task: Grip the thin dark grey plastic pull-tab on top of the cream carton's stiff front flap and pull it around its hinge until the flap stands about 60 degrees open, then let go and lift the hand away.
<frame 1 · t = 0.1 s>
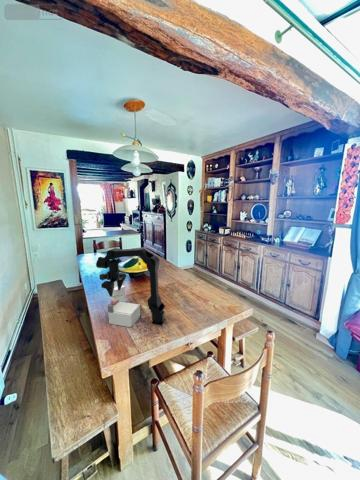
hand: (115, 293, 125), 15 cm above the table, tool pointing down, fingers open, 9 cm apart
carton: (125, 319, 122), on the table
front flap: (119, 316, 115), point 6 cm above the table, hinge at 0.0°
ink cartridge box: (118, 302, 143), on the table
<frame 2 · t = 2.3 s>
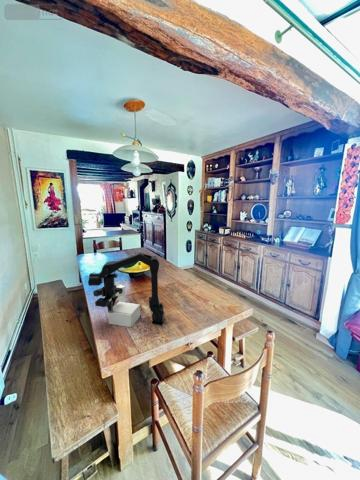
hand: (110, 310, 116), 9 cm above the table, tool pointing down, fingers closed on front flap
front flap: (119, 316, 115), point 6 cm above the table, hinge at 0.8°, touching gripper
everything else where it was.
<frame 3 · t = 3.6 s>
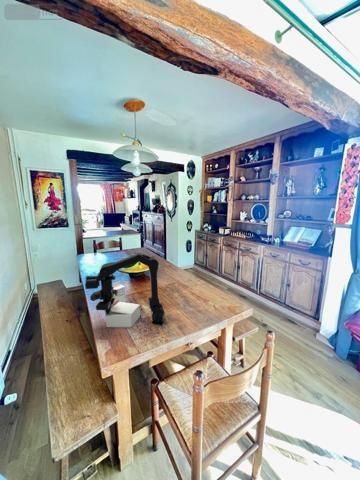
hand: (108, 313, 113), 9 cm above the table, tool pointing down, fingers closed
front flap: (118, 317, 114), point 6 cm above the table, hinge at 14.4°, touching gripper
everything else where it was.
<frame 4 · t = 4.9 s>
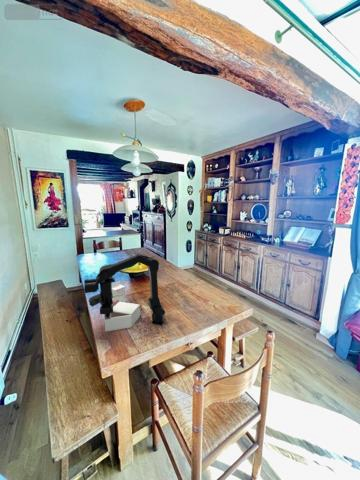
hand: (107, 316, 109), 9 cm above the table, tool pointing down, fingers closed
front flap: (118, 320, 112), point 6 cm above the table, hinge at 31.4°, touching gripper
everything else where it was.
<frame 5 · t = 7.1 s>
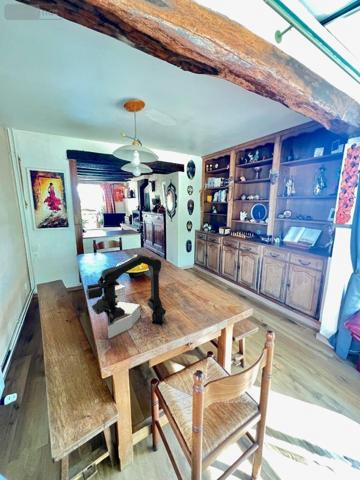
hand: (110, 322, 104), 9 cm above the table, tool pointing down, fingers closed
front flap: (120, 323, 109), point 6 cm above the table, hinge at 59.8°, touching gripper
everything else where it was.
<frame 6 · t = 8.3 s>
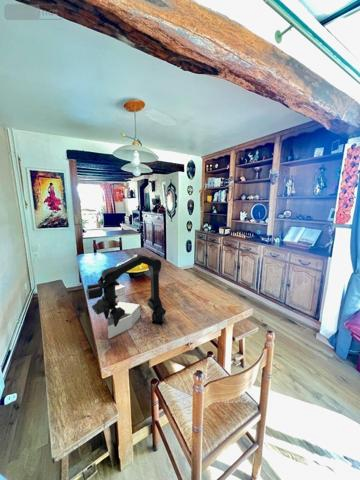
hand: (111, 322, 104), 9 cm above the table, tool pointing down, fingers open, 9 cm apart
front flap: (120, 323, 109), point 6 cm above the table, hinge at 60.0°
everything else where it was.
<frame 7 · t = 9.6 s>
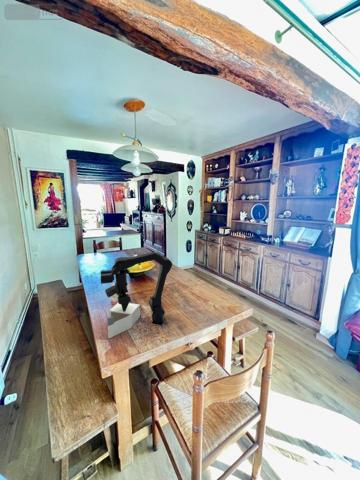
hand: (123, 307, 112), 13 cm above the table, tool pointing down, fingers open, 9 cm apart
nothing on the table moved.
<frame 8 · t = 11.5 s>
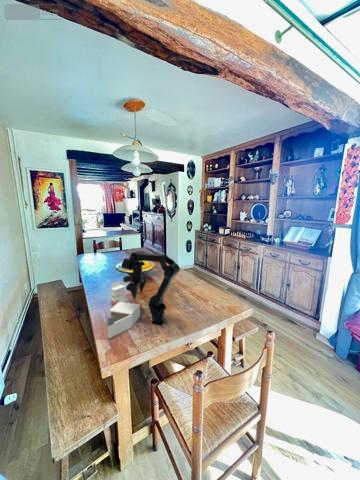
hand: (137, 295, 126), 13 cm above the table, tool pointing down, fingers open, 9 cm apart
nothing on the table moved.
at the end: front flap at +60° (first picture: +0°); the gripper is holding nothing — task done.
